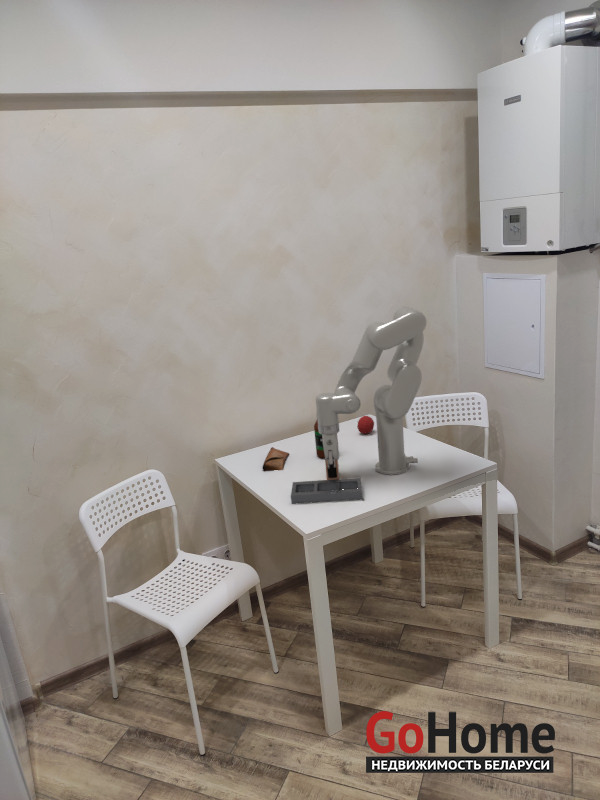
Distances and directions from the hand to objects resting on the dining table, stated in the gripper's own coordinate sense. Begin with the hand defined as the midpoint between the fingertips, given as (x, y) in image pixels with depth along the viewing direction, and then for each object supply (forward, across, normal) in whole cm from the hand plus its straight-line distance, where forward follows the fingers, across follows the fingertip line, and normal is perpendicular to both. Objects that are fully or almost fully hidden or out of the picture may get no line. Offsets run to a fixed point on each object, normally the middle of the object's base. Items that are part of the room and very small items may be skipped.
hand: (332, 474), depth 224 cm
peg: (+1, 0, 0) cm, 1 cm away
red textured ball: (+2, +45, -14) cm, 47 cm away
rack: (+1, -14, +2) cm, 14 cm away
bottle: (+2, +22, +3) cm, 22 cm away
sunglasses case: (+2, +19, +23) cm, 29 cm away
